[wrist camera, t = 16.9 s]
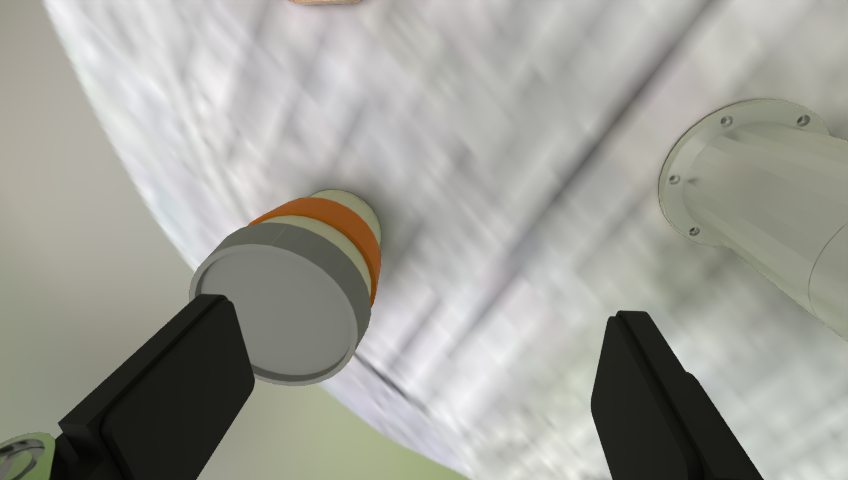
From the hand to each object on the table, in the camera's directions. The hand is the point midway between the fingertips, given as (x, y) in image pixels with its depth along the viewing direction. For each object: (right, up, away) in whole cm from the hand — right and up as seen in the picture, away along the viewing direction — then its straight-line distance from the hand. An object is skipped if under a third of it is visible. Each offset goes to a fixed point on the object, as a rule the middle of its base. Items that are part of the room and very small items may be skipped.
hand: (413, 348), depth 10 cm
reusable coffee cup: (-8, +4, +31) cm, 32 cm away
